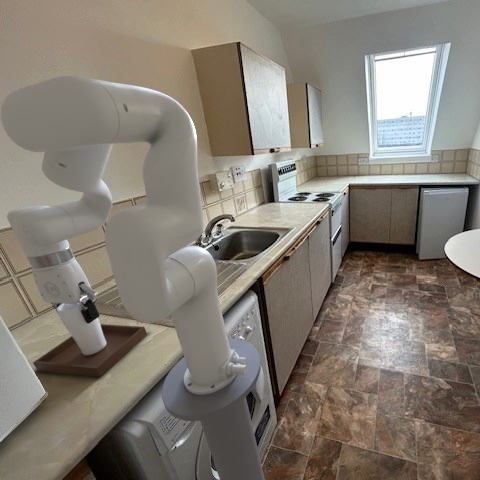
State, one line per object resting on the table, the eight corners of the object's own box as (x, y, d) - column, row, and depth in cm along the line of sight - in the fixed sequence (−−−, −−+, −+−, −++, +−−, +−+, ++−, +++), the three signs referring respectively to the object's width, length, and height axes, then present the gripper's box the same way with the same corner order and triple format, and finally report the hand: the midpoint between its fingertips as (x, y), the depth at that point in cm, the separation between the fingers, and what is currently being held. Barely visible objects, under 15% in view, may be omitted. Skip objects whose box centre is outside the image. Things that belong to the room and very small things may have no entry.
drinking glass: (86, 361, 69) (62, 314, 63) (75, 353, 72) (51, 307, 67) (115, 344, 74) (95, 299, 69) (103, 337, 78) (83, 293, 72)
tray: (147, 334, 79) (144, 326, 78) (100, 377, 65) (96, 368, 64) (93, 330, 82) (89, 323, 81) (37, 370, 68) (32, 362, 67)
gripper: (4, 264, 61) (38, 327, 68) (65, 265, 58) (95, 330, 65) (40, 251, 68) (68, 309, 75) (97, 251, 65) (121, 311, 72)
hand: (81, 318), depth 70 cm, fingers closed on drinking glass, 6 cm apart
